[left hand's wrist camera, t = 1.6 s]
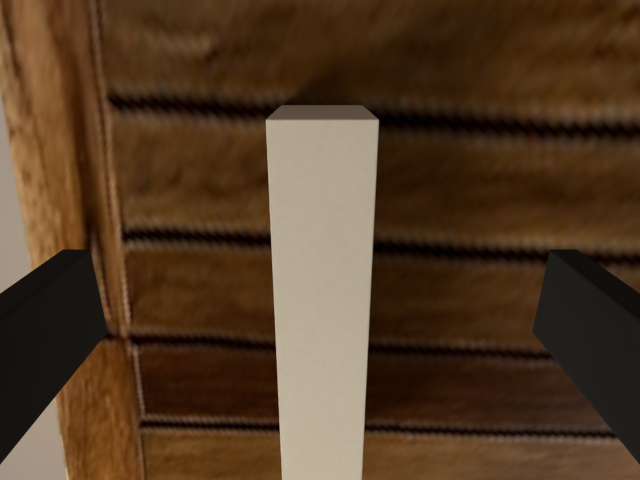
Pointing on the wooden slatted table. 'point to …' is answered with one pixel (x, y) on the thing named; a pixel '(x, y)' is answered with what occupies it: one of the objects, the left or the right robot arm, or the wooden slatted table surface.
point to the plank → (322, 282)
